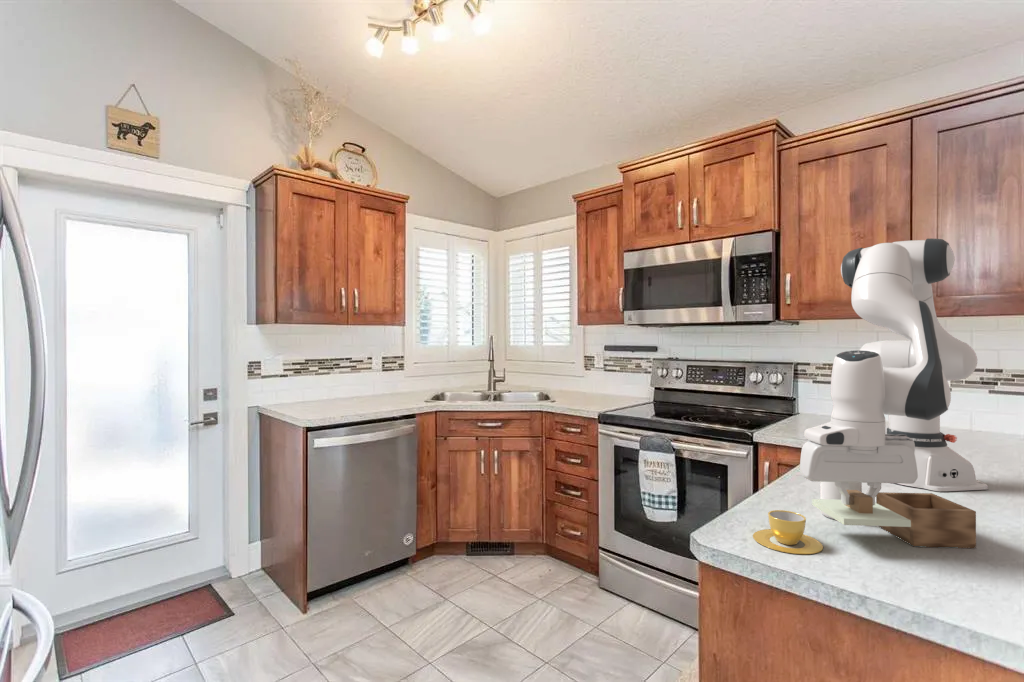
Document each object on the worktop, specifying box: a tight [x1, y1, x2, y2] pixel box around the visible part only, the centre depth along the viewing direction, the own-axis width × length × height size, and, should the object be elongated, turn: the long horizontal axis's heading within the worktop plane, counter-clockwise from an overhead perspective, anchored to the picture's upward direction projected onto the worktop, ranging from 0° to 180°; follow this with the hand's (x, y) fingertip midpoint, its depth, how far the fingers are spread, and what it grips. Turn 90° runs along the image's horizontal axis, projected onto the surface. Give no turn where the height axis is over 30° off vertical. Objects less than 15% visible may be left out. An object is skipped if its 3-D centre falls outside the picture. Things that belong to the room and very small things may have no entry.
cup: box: [752, 509, 824, 555], centre depth 97 cm, size 12×12×5 cm
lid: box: [811, 490, 911, 527], centre depth 98 cm, size 12×12×4 cm
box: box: [875, 491, 977, 549], centre depth 100 cm, size 11×11×7 cm
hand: (857, 504), depth 98 cm, fingers closed on lid, 2 cm apart
